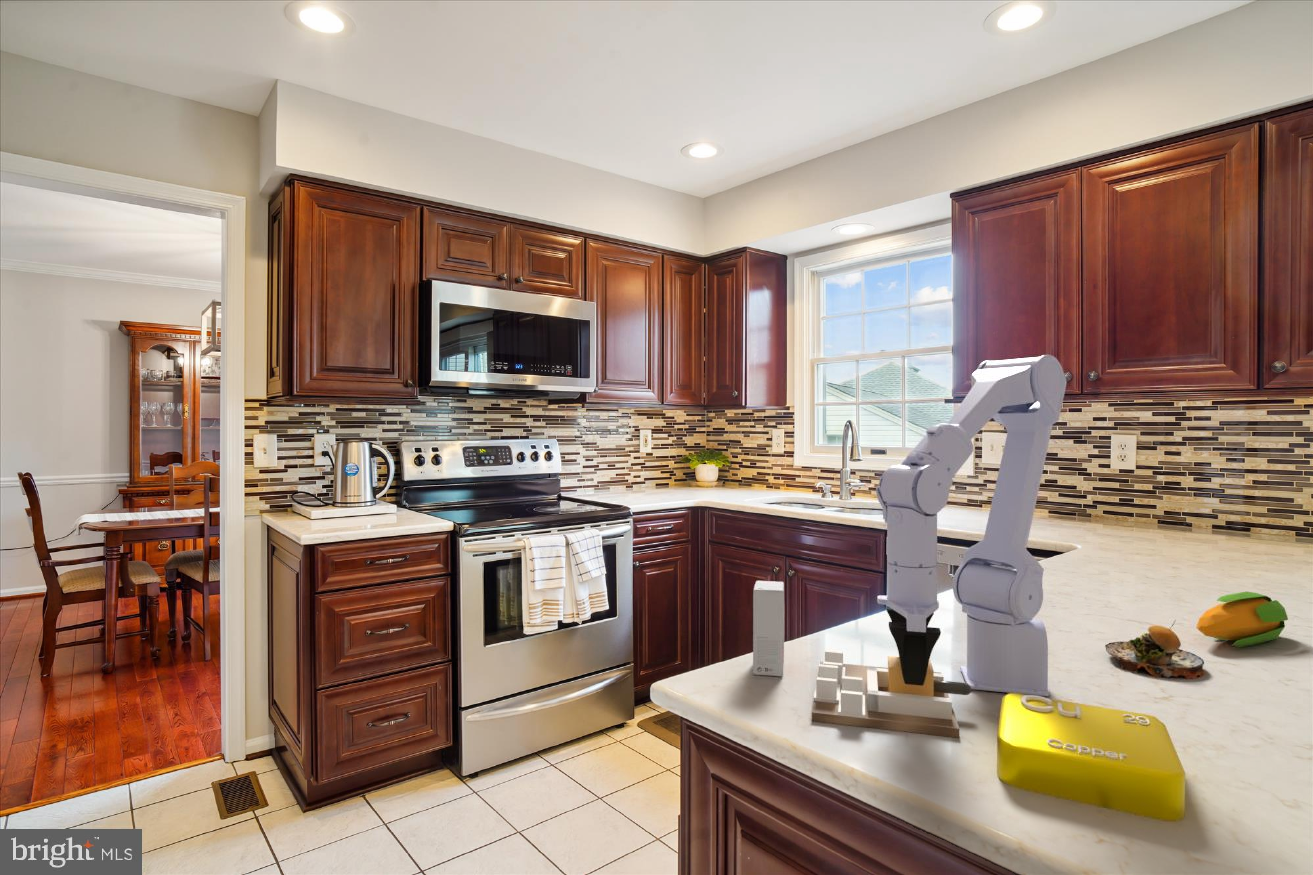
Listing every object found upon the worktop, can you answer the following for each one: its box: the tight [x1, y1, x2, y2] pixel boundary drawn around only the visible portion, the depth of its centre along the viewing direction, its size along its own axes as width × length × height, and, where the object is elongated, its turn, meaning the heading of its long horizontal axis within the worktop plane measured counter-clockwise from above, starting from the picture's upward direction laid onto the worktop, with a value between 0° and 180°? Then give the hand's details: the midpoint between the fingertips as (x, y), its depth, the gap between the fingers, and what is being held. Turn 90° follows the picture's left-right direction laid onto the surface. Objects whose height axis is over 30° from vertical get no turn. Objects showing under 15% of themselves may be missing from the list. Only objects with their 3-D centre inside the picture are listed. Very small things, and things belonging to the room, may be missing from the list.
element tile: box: [996, 693, 1186, 822], centre depth 69 cm, size 15×15×5 cm
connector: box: [887, 655, 972, 697], centre depth 83 cm, size 9×4×4 cm, turn 73°
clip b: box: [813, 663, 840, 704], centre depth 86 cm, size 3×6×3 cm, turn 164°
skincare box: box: [752, 580, 785, 677], centre depth 98 cm, size 6×4×12 cm
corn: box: [1196, 591, 1289, 648], centre depth 109 cm, size 7×8×20 cm
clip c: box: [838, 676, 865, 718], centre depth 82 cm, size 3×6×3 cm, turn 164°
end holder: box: [867, 666, 953, 720], centre depth 84 cm, size 9×9×2 cm
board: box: [811, 661, 960, 739], centre depth 87 cm, size 16×18×1 cm
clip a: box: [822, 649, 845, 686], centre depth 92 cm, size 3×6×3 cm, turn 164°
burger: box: [1104, 619, 1206, 680], centre depth 99 cm, size 12×12×8 cm
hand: (911, 674), depth 84 cm, fingers open, 6 cm apart
